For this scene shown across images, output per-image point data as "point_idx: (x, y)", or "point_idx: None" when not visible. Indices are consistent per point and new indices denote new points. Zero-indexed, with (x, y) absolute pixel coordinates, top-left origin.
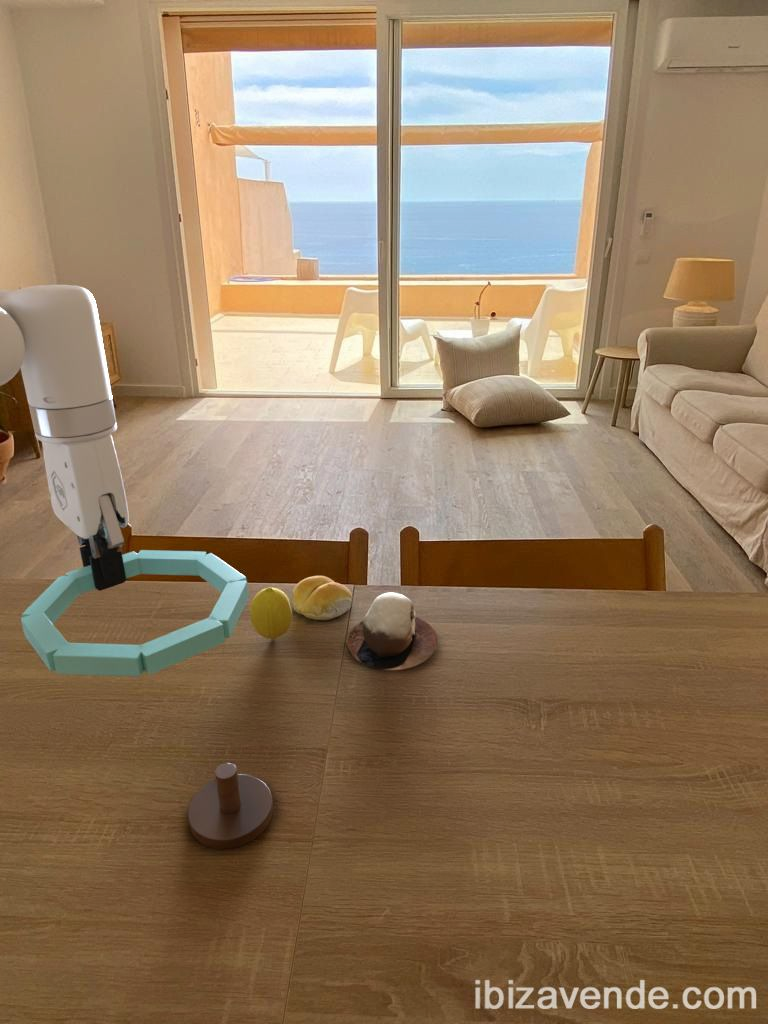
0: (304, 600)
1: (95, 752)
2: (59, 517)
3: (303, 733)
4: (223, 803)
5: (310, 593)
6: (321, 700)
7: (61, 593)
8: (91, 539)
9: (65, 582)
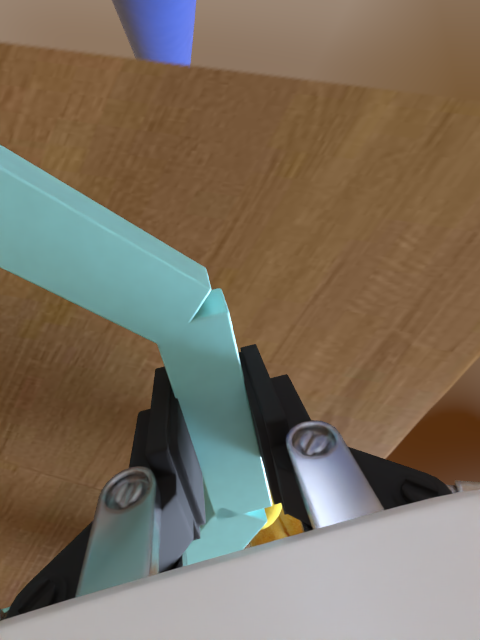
0: (279, 514)
1: (105, 200)
2: (393, 536)
3: (35, 443)
4: None
5: (284, 526)
6: (90, 473)
7: (37, 283)
8: (93, 583)
9: (137, 305)
